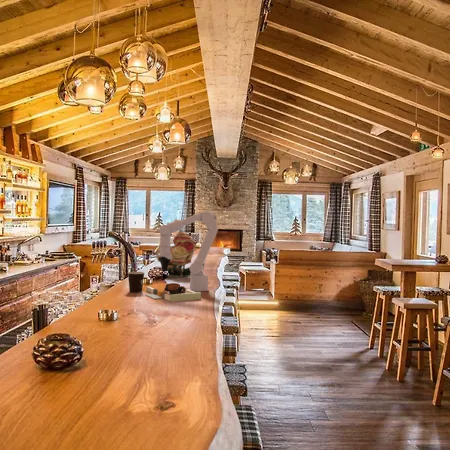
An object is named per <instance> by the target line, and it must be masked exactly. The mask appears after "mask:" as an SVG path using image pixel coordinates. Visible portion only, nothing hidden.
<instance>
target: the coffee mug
mask: <svg viewBox="0 0 450 450" xmlns="http://www.w3.org/2000/svg"><path fill="white" fill-rule="evenodd" d="M127 276H128V277H127V278H128V289H129V290H128V291H129V293H135V294H137V293H142V292H143V287H144V279H145V272H144V271H128V272H127Z"/></svg>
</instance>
